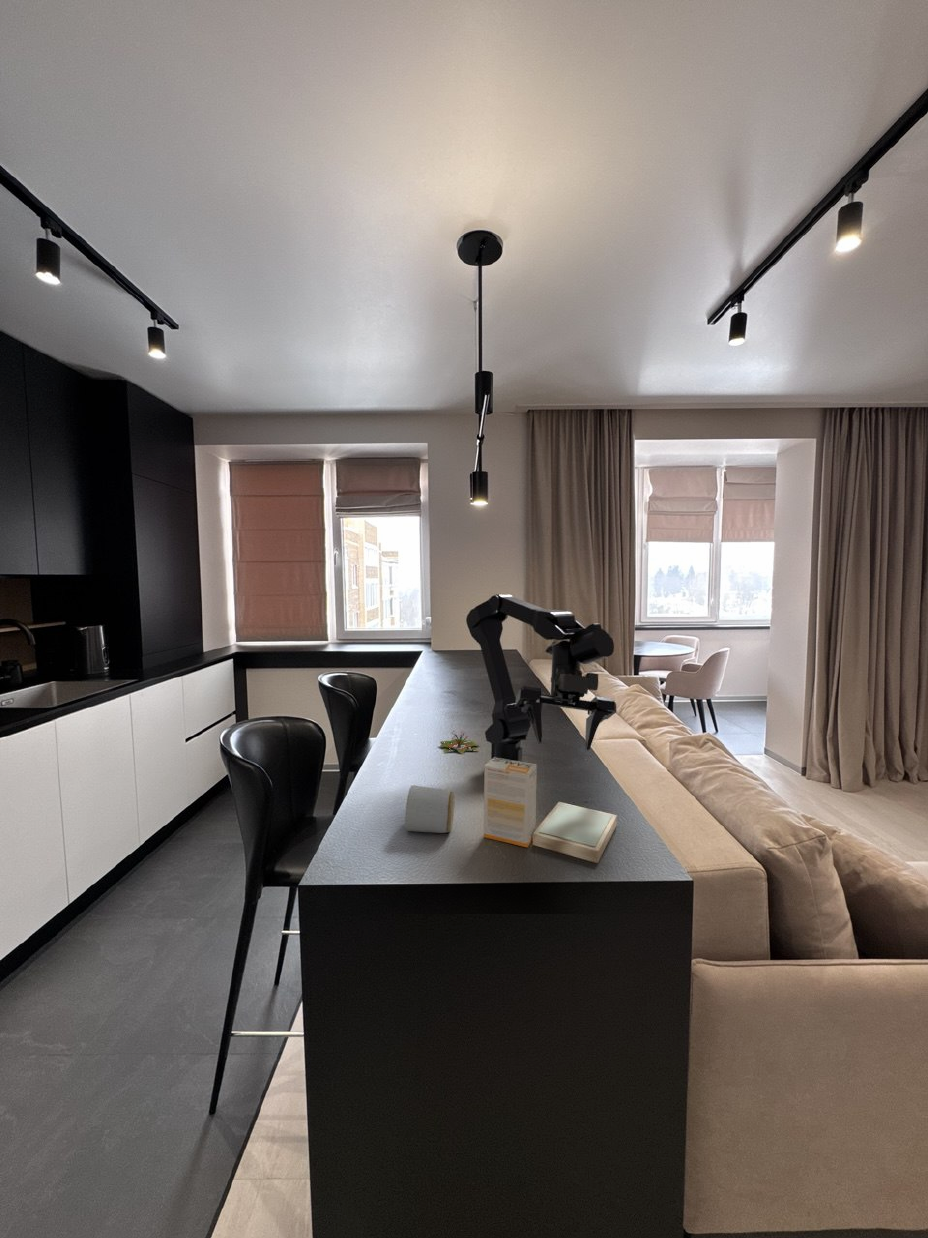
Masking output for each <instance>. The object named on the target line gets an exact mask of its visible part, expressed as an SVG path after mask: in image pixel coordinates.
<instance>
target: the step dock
mask: <svg viewBox="0 0 928 1238" xmlns="http://www.w3.org/2000/svg"><path fill="white" fill-rule="evenodd" d="M617 821H618V815H617V814H613V813H609V812H605V811H600V810H595V809H591V808H588V807H582V806H579V805H573V804H569V803H566V802H563V801H562V802H561V801H558V802H557V803H556V805H555V806H554V807H553V809H551V810H550V812H549V813H548V814H547V816H545V818H544V819H543V821H542V822H541V823H540V824H539V825H538V827H537V828H535V832H534V833H533V840H532V846H536V847H540V848H543V849H546V850H550V851H553V852H557V853H560V854H564V855H568V856H571V857H575V858H578V859H582V860H585V861H589V862H592V863H595V864H599V861H600V860H601V858H602V855H603V854H604V851H605V850H606V847H607V846H608V843H609V842H610V840H611V837H612V835H613V834H614V831H615V829H616V828H617V823H618V822H617Z"/></svg>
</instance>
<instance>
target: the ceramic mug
mask: <svg viewBox="0 0 928 1238" xmlns="http://www.w3.org/2000/svg"><path fill="white" fill-rule="evenodd" d="M455 800H456V799H455V793H454V792H453V791H451V790H447V789H442V788H434V787H427V786H422V785H415V784H413V785H411V786H410V788H409V790H408V793H407V797H406V804H405V812H404V814H405V816H404V827H405V831H407V832H416V833H417V832H418V833H419V832H421V833H435V834H436V833H437V834H444V833H449V832H450V831H451V830H452V828H453V824H454V823H453V822H454V816H455V815H454V813H455Z"/></svg>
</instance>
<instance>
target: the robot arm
mask: <svg viewBox="0 0 928 1238" xmlns="http://www.w3.org/2000/svg"><path fill="white" fill-rule="evenodd" d="M508 617H511V618H513V619H515V620H518V621H520V622H523V623H524V624H527V625H529V626H530V627H532V629H533V631H534V632H535V633H536V634H537V635H538V636H540V637H541V638H543V639H545V640H547V641H550V640H556V641H559V642H555V641H552V643H551V644H550V645H549V646H548V647H547V648H546V649H545V653H546V654H549V655H551V674H550V695H549V694H542V689H541V688H540V687H536V686H535V687H534V686H527V685H523V686H521V688H519V690H518V692H517V694H515V691H514V686H513V683H512V680H511V676H510V672H509V670H508V669H509V668H508V665H507V661H506V659H505V655H504V650H503V646H502V642H501V636H502V633H503V629H504V628H503V622H505V621H506V620H507V619H508ZM465 620H466V625H467V628H468V631H469V633H470V637H472V638H473V639H474V641H475V642H476V643H477V644H478V645H479V646H480V649H481V653H482V657H483V661H484V665H485V669H486V673H487V676H488V680H489V684H490V688H491V691H492V695H493V698H494V704H493V705H494V706H493V710H492V714H491V718H492V724H491V725H490V726H489V727H488V728H487V729H486V730H485V732H484V735H485V740H486V742H489V743H491V748H490V749H491V750H490V751H491V752H490V760H491V759H493V758H494V757H496V758H502V759H508V760H513V761H520V762H523V748H522V747H521V746H522V745H521V741H526V740H527V737H528V733H529V731H530V728H531V727H532V729H533V732H534V736H535V738H536V741H537V744H538V745H540V744H542V742H543V741H542V739H543V728H542V726H543V725H542V723H543V722H542V710H543V709H542V707H543V705H544V706H551V707H559V708H566V709H572V710H579V711H586V712H587V715H588V716H587V718H585V741H584V746H585V751H589V750H590V749H591V747H592V744H593V741H594V739H595V735H596V733H597V730H598V727H599V725H600V724H601V723H603V722H604V721H605V720H609V719H610V718H611V717H612V716H613V715H615V714H616V713H617V703H616V702H615V700H614V699H613V698H611V697H610V698H609V697H602V696H598V695H596V696H594V698H593V699H591V700H585V699H584V700H583V699H581V698H584V697H585V695H588V692H589V691H588V690H590V691H597V690H598V689H599V674H598V673H594V672H587V673H586V675H585V676H583V672H582V670H581V664H582V665H589V664H592V663H594V662H597V661H600V660H603V659H606V658H608V657H610V656H612V655H613V653H614V650H615V644H614V640H613V638H612V637H611V636H610V634H609V633H608V631H606V630H605V629H603V628H602V625H601V623H599V622H598V623H596V622H595V623H591V624H589V625H587V626H586V627H585V626H584V625H582V623H580V622H579V621H578V620H577V619H576V617H575V614H574V613H572V612H571V611H569V610H568V611H567V610H560V609H549V608H543V607H540V606H538V605H535V604H532V603H530V602H527V601H524V600H522V599H519V598H517V597H514V596H513V595H511V594H510V593H509V594H508V593H505V594H504V593H503V594H501V593H499V594H497V593H496V594H494V595H492V596H491V597H490V598H489V599H488V600H486V601H484V602H482V603H479V604H478V605H476V606H475V607H474V608H472V609H470V610H469V613H467V615H466V618H465Z"/></svg>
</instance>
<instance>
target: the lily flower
mask: <svg viewBox="0 0 928 1238" xmlns="http://www.w3.org/2000/svg"><path fill="white" fill-rule="evenodd" d="M465 733H466V731H464V730H462V731H461V734H459V732H458V735H459V736H458V735H457V734H456V732H455V730H452V732H451V734H452V735H453V737H451V740H444V741H442V740H440V742H441V743H442V744H440V745H439V746H438V747H436V749H437V748H444V747H445V748H444V752H443V753H444V754H446V753H451V752H453V750H451V749H454V750H457V751H456V752H459V753H460V754H461V755H463V754H464V753H465V752H466V751H467V752H468V751H469V752H471V751H472V750H476V751H475V752H479V750H478V749H477V748H476V746H478V745H479V744H477V743H476V742H473V740H474V739H472V741H471V739H467V738H468V736H465ZM464 736H465V737H464ZM467 741H471V742H467ZM444 742H445V743H444ZM464 742H467V743H464ZM451 743H452V744H451ZM457 744H458V745H457ZM454 745H457V747H458V749H457V747H453V746H454ZM461 745H465V746H466V747H464V746H463V747H464V748H463V747H462V746H461ZM474 746H475V747H474ZM467 747H471V749H472V750H469V749H468V748H467ZM449 748H451V749H449ZM461 748H462V749H461ZM449 750H450V751H449ZM448 751H449V752H448ZM472 752H473V751H472Z"/></svg>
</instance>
